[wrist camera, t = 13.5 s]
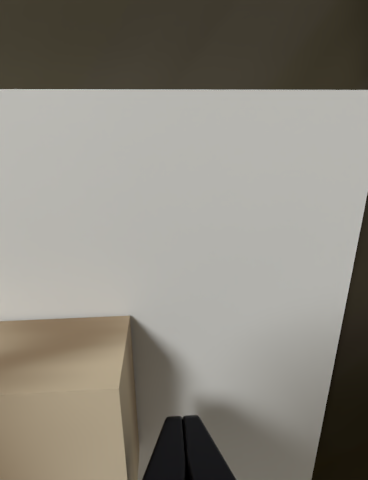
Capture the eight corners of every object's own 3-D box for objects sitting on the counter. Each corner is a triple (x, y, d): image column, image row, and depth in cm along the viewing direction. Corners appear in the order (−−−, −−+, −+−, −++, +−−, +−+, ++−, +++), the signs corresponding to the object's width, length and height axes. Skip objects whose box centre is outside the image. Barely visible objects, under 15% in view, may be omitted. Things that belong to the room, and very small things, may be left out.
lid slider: (129, 315, 9) (116, 400, 6) (139, 449, 10) (133, 560, 8) (-108, 325, 8) (-232, 421, 6) (-56, 462, 10) (-134, 585, 7)
